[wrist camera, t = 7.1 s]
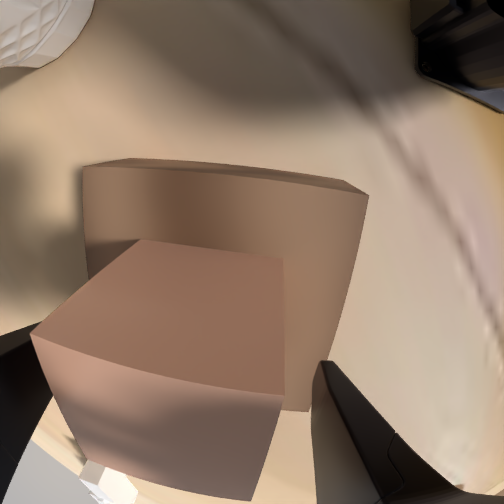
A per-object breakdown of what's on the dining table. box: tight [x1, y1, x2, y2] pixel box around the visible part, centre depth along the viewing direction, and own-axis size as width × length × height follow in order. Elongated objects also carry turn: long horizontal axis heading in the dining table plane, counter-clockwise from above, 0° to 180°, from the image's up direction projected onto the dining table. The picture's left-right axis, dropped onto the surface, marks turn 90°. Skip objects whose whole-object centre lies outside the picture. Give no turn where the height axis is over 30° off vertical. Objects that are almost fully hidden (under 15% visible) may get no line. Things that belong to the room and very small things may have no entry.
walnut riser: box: [82, 158, 369, 412], centre depth 13 cm, size 10×10×4 cm
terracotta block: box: [30, 239, 285, 501], centre depth 8 cm, size 5×5×6 cm
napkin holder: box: [79, 460, 138, 504], centre depth 23 cm, size 15×11×6 cm
